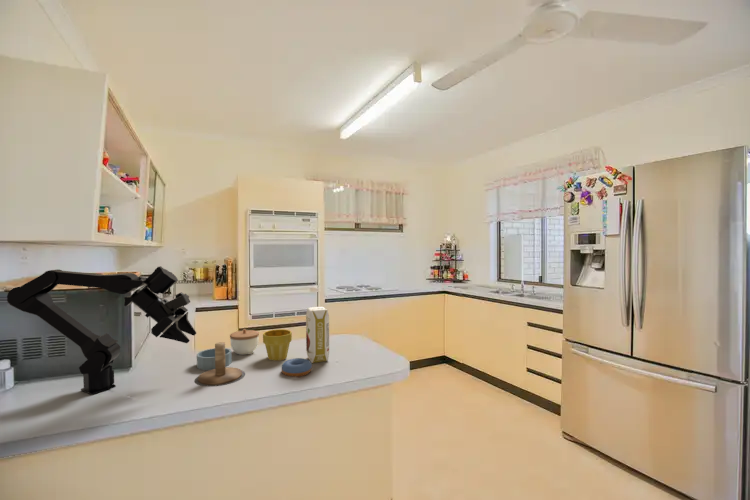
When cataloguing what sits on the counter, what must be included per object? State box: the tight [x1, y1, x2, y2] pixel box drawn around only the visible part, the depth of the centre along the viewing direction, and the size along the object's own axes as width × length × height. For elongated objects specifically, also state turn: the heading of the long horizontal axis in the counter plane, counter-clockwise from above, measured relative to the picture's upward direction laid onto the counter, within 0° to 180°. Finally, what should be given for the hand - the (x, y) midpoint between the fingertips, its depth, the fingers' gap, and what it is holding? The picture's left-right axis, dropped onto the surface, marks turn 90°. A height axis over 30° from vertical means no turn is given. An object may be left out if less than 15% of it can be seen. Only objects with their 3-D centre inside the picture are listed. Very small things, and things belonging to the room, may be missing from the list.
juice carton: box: [305, 306, 330, 364], centre depth 136 cm, size 8×9×19 cm
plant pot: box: [262, 328, 293, 361], centre depth 137 cm, size 10×10×10 cm
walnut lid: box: [197, 341, 243, 385], centre depth 118 cm, size 13×13×11 cm
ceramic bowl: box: [196, 347, 233, 371], centre depth 130 cm, size 11×11×4 cm
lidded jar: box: [229, 328, 260, 355], centre depth 144 cm, size 11×11×9 cm
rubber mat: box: [194, 369, 246, 388], centre depth 118 cm, size 15×15×1 cm
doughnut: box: [281, 357, 313, 378], centre depth 123 cm, size 10×10×5 cm
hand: (192, 338), depth 115 cm, fingers open, 9 cm apart
